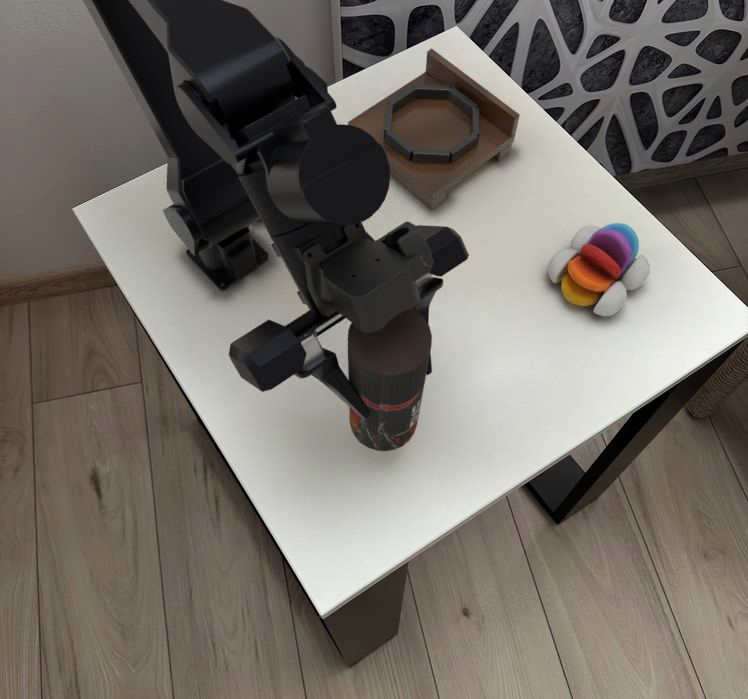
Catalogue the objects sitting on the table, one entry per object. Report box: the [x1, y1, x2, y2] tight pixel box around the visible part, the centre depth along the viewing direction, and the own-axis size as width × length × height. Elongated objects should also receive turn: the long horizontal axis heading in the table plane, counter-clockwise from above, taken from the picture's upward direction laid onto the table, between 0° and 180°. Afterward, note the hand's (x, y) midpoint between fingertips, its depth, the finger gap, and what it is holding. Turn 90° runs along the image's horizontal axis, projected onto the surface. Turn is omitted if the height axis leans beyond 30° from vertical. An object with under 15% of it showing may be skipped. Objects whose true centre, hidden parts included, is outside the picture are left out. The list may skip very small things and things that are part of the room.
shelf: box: [347, 48, 521, 211], centre depth 87 cm, size 14×13×6 cm
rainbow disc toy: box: [547, 222, 651, 317], centre depth 78 cm, size 8×10×7 cm
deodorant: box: [347, 308, 433, 452], centre depth 61 cm, size 6×6×15 cm
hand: (396, 395), depth 60 cm, fingers closed on deodorant, 6 cm apart
